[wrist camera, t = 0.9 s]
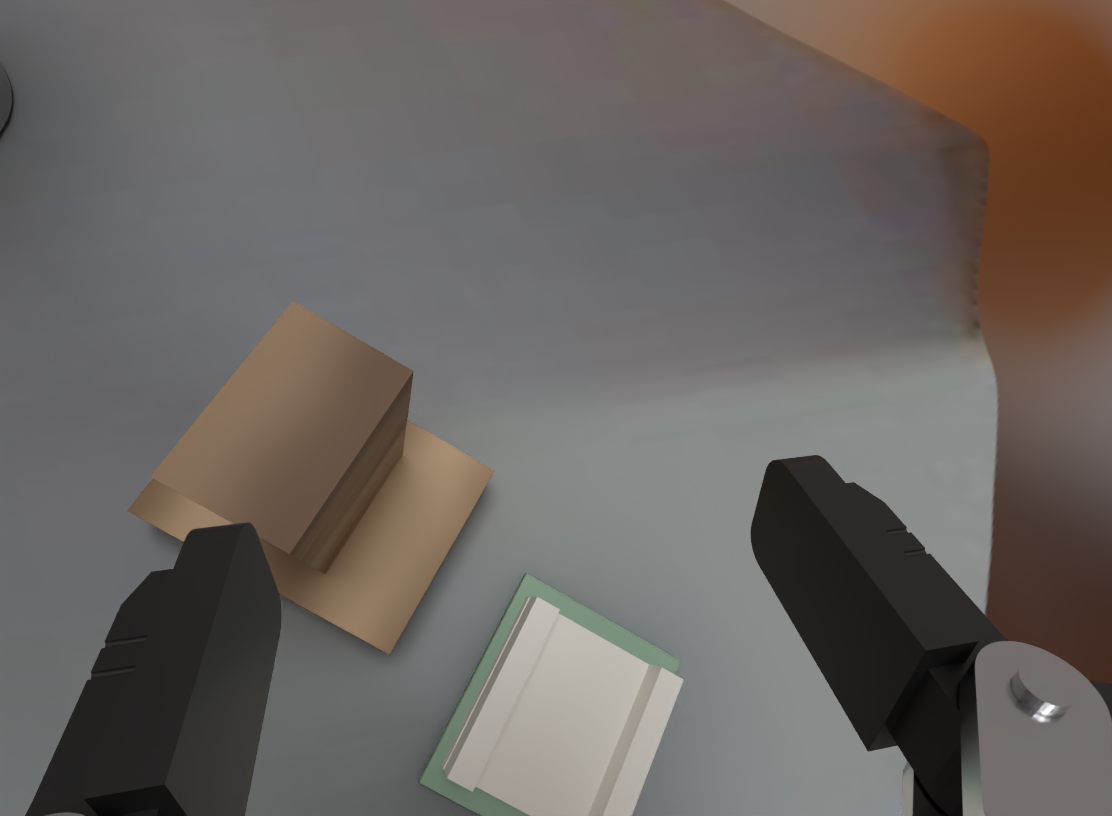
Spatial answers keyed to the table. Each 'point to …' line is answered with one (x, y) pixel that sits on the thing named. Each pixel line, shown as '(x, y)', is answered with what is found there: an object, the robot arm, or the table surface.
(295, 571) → the flat wooden block
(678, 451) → the table surface
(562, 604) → the mat
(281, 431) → the tall wooden pillar
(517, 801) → the rack
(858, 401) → the table surface
